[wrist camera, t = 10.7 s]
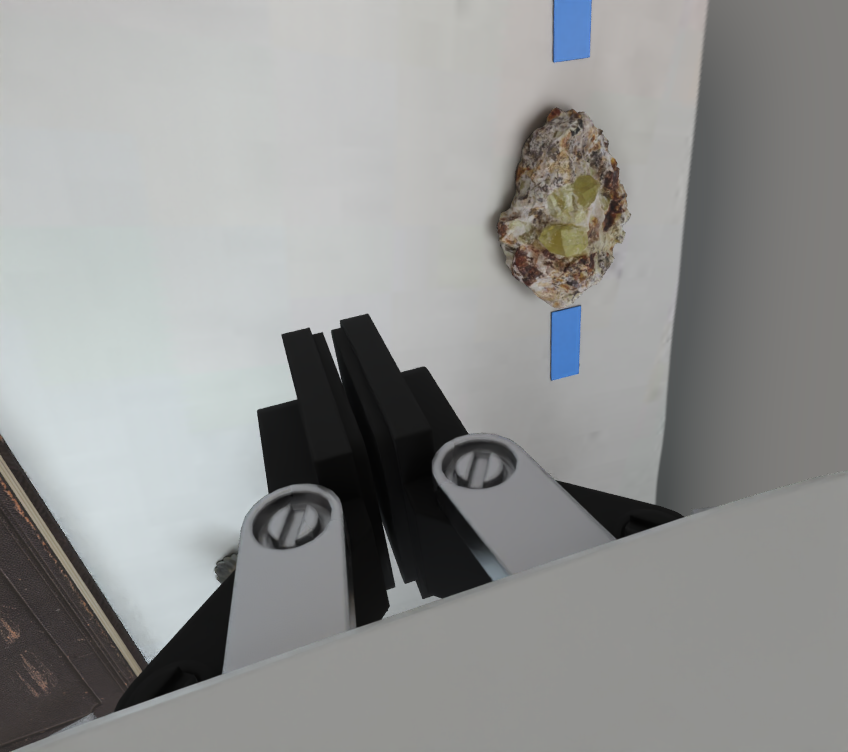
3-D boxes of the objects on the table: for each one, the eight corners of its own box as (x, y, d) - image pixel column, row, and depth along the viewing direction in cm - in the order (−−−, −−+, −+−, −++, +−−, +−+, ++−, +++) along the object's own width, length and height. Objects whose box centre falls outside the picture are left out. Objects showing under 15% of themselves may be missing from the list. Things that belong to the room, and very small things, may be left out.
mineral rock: (646, 289, 37) (544, 333, 34) (592, 272, 40) (494, 310, 37) (657, 93, 32) (537, 122, 28) (594, 92, 35) (480, 118, 32)
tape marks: (554, -58, 29) (555, -58, 29) (592, -62, 29) (593, -62, 29) (550, 380, 41) (551, 380, 41) (578, 373, 42) (578, 373, 41)
